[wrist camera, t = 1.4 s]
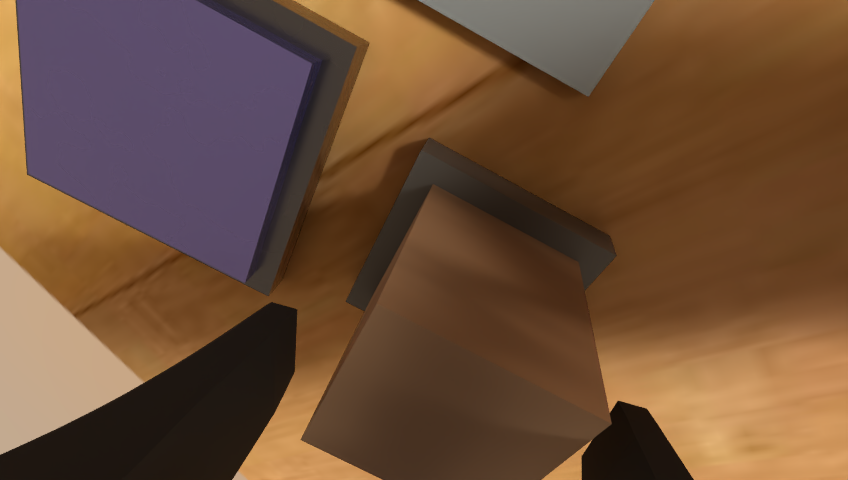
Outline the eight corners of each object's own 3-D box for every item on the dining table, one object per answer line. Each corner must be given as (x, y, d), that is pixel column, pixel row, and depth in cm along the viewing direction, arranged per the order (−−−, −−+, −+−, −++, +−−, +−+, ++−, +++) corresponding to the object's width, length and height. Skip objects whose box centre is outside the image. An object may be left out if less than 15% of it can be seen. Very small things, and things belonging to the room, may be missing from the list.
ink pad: (369, 42, 11) (348, 49, 10) (282, 280, 16) (259, 306, 15) (46, -137, 11) (-23, -155, 9) (54, 164, 15) (8, 181, 14)
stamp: (609, 234, 13) (675, 420, 7) (503, 356, 16) (492, 551, 10) (429, 136, 12) (353, 253, 7) (357, 281, 15) (264, 441, 10)
